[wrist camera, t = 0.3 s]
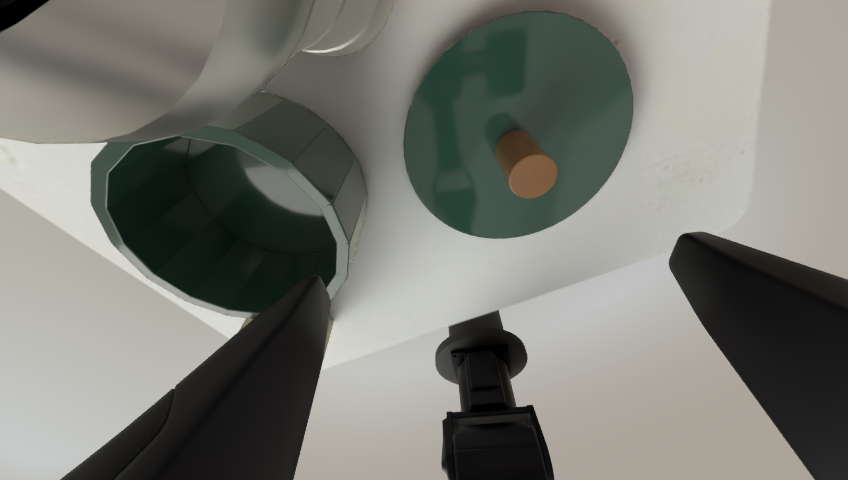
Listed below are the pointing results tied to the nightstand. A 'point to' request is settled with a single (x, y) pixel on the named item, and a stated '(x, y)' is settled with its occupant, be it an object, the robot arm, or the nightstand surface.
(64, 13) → the silver bottle
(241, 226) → the pot
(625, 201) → the nightstand surface
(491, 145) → the lid
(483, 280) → the nightstand surface
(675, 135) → the nightstand surface
